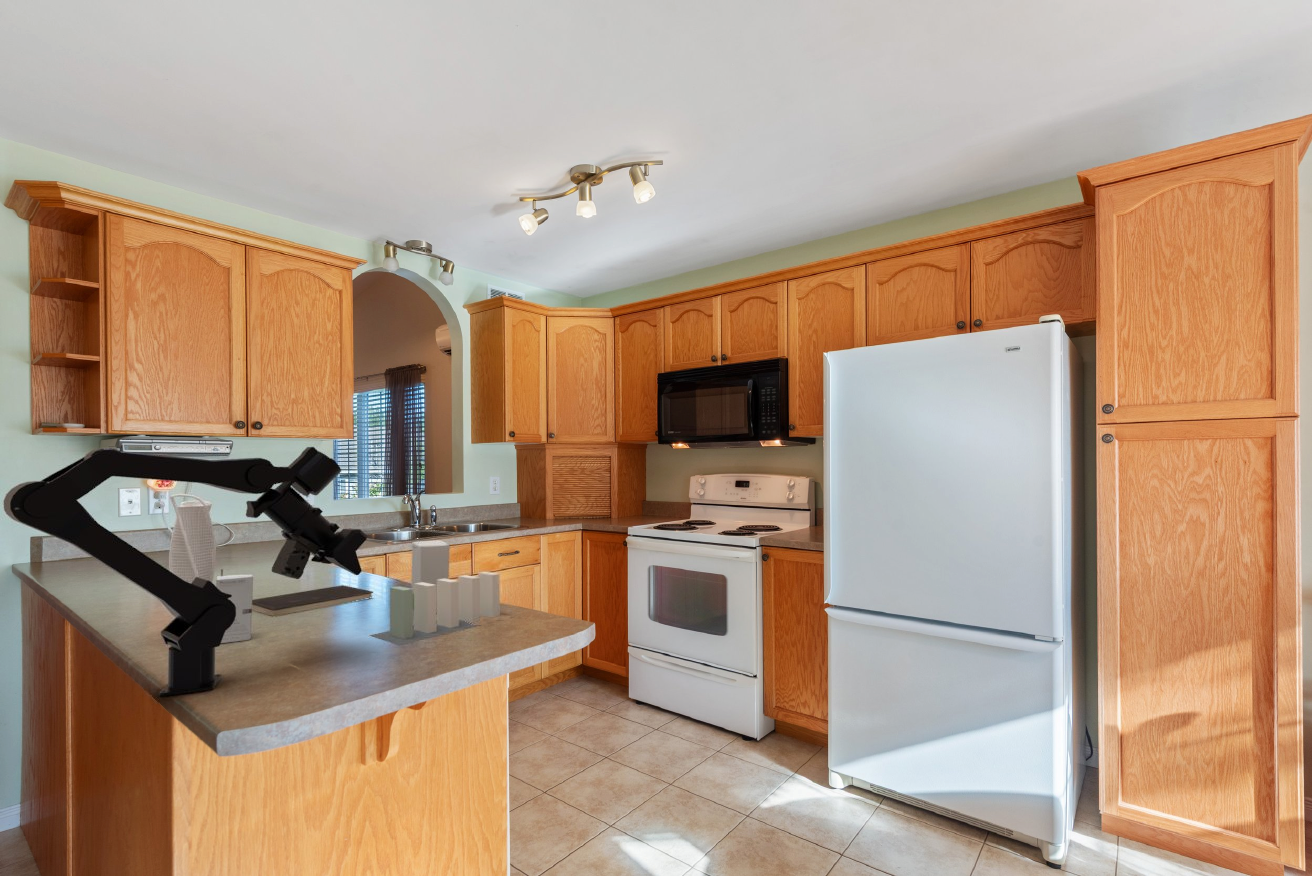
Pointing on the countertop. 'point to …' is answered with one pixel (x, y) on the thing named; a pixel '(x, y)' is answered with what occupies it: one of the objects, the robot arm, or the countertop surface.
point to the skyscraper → (192, 541)
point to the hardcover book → (308, 600)
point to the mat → (423, 633)
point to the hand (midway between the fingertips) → (358, 573)
